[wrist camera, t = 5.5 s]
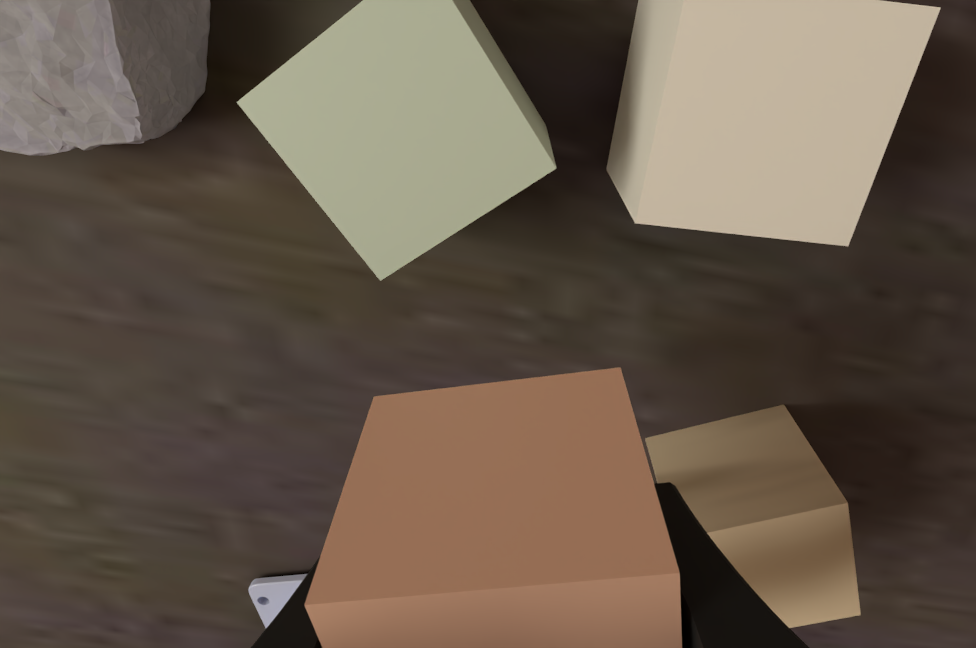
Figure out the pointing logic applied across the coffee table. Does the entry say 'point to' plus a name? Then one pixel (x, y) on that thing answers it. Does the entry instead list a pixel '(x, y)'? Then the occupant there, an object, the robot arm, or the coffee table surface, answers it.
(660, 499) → the robot arm
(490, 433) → the terracotta cube
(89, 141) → the stone block
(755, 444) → the maple cube
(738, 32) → the cream cube
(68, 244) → the coffee table surface
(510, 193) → the sage cube
